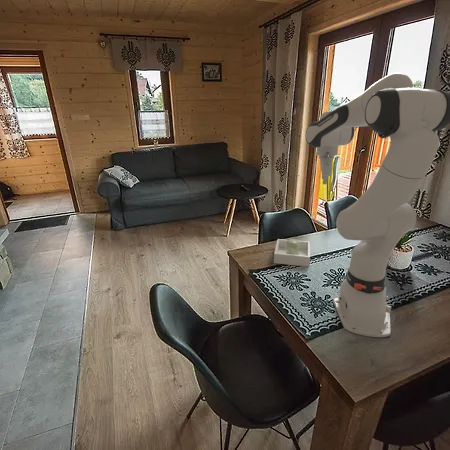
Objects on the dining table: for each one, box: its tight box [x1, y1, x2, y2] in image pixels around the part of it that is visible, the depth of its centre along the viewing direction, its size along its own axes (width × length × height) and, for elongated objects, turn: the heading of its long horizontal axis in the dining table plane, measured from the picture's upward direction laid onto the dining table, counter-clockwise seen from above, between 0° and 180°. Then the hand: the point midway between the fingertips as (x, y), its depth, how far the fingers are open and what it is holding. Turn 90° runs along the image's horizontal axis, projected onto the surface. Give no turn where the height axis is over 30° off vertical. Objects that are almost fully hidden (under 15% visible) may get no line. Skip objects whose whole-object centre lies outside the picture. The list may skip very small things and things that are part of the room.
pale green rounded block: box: [286, 238, 300, 255], centre depth 138 cm, size 6×6×7 cm
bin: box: [273, 238, 311, 268], centre depth 138 cm, size 16×16×5 cm
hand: (324, 181), depth 132 cm, fingers open, 8 cm apart
